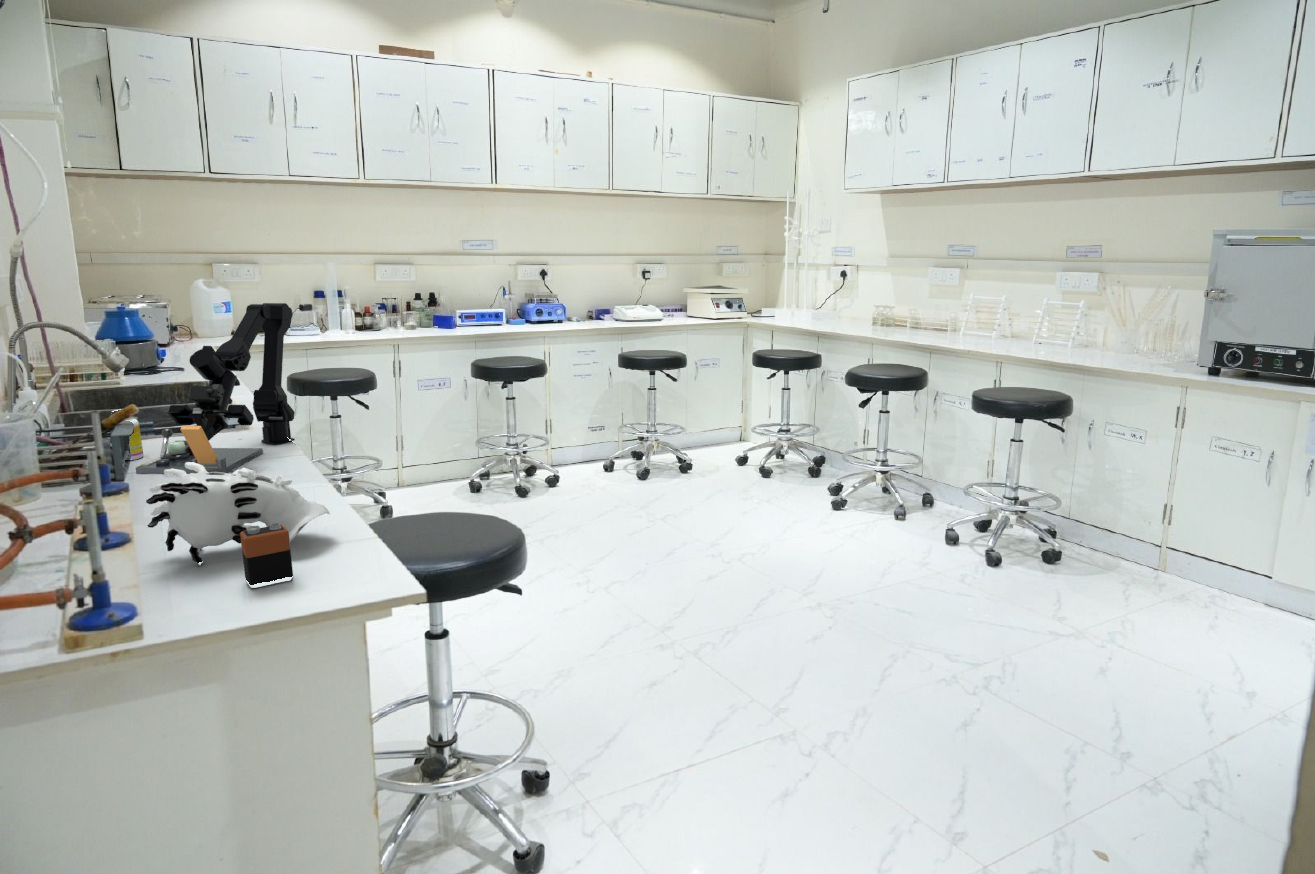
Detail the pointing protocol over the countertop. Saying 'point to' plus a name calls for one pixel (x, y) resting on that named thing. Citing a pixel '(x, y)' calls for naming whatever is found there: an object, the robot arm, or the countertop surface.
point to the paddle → (200, 446)
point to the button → (176, 447)
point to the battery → (266, 553)
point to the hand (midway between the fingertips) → (201, 444)
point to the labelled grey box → (184, 442)
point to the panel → (226, 460)
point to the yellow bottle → (135, 440)
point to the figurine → (226, 506)
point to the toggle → (165, 441)
